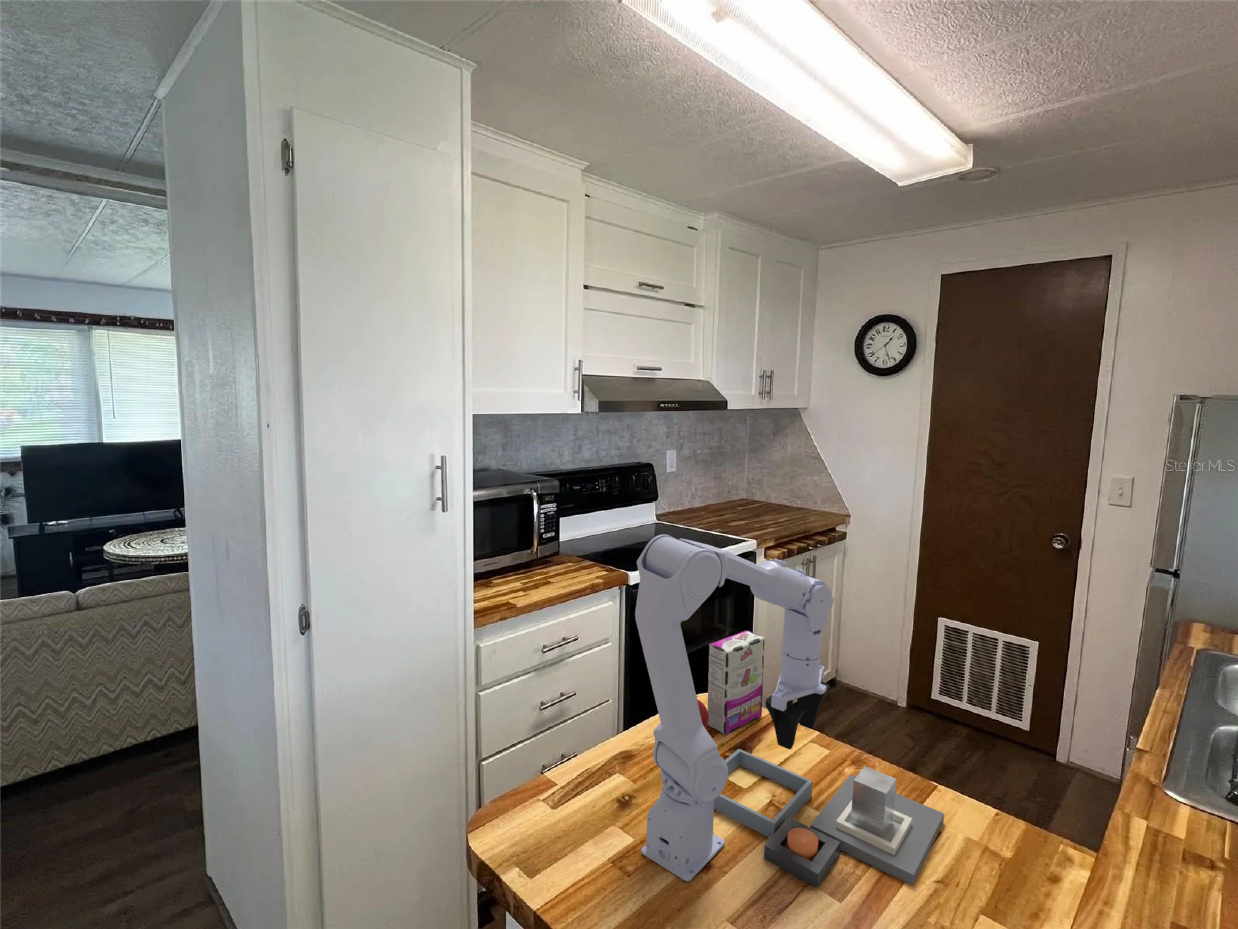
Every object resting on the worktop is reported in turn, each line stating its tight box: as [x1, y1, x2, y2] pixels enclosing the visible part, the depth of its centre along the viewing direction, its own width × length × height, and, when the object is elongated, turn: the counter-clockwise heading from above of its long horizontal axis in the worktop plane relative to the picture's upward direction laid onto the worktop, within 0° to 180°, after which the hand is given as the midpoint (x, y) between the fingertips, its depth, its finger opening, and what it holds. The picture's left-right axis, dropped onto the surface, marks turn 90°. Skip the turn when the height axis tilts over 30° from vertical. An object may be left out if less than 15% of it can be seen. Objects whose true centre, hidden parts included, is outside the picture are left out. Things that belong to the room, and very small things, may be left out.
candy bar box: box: [706, 630, 766, 736], centre depth 120 cm, size 11×5×16 cm, turn 129°
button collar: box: [763, 817, 841, 888], centre depth 86 cm, size 8×8×2 cm
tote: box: [714, 748, 813, 839], centre depth 98 cm, size 13×13×2 cm
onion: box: [696, 694, 709, 729], centre depth 115 cm, size 6×6×8 cm
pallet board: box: [809, 774, 945, 886], centre depth 92 cm, size 16×14×2 cm
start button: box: [787, 828, 818, 861], centre depth 86 cm, size 4×4×2 cm
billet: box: [850, 765, 897, 839], centre depth 90 cm, size 4×4×7 cm
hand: (795, 736), depth 97 cm, fingers open, 7 cm apart
